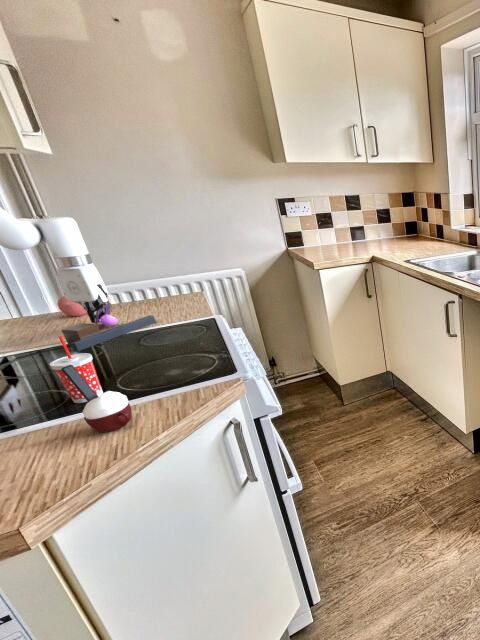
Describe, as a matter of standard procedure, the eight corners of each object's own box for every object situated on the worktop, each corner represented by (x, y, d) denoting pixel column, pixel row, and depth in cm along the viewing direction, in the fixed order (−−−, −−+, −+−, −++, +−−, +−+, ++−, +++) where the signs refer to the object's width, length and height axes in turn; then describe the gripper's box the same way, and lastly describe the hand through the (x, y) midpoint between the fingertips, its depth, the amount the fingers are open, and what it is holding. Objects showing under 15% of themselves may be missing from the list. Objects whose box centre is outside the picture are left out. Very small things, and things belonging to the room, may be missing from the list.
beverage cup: (77, 394, 90) (48, 333, 84) (113, 388, 92) (87, 328, 86) (62, 408, 84) (30, 344, 79) (100, 402, 86) (71, 339, 81)
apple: (101, 312, 141) (91, 289, 138) (76, 320, 135) (66, 296, 131) (83, 311, 142) (73, 288, 139) (58, 319, 136) (47, 295, 133)
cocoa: (142, 426, 78) (118, 368, 73) (97, 443, 73) (68, 382, 69) (128, 410, 83) (104, 355, 79) (85, 425, 79) (57, 367, 74)
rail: (73, 351, 111) (69, 342, 110) (152, 322, 131) (149, 315, 130) (78, 351, 111) (74, 343, 110) (156, 323, 131) (153, 315, 130)
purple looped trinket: (105, 302, 129) (92, 310, 121) (128, 305, 131) (116, 314, 124) (104, 322, 130) (91, 332, 123) (126, 325, 133) (114, 335, 125)
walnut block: (69, 346, 114) (61, 329, 112) (88, 339, 119) (81, 323, 117) (84, 347, 113) (76, 330, 111) (103, 340, 118) (96, 324, 116)
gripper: (37, 264, 119) (65, 325, 126) (81, 265, 117) (107, 326, 124) (66, 258, 126) (91, 316, 133) (109, 259, 123) (132, 318, 131)
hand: (99, 321), depth 128 cm, fingers closed
